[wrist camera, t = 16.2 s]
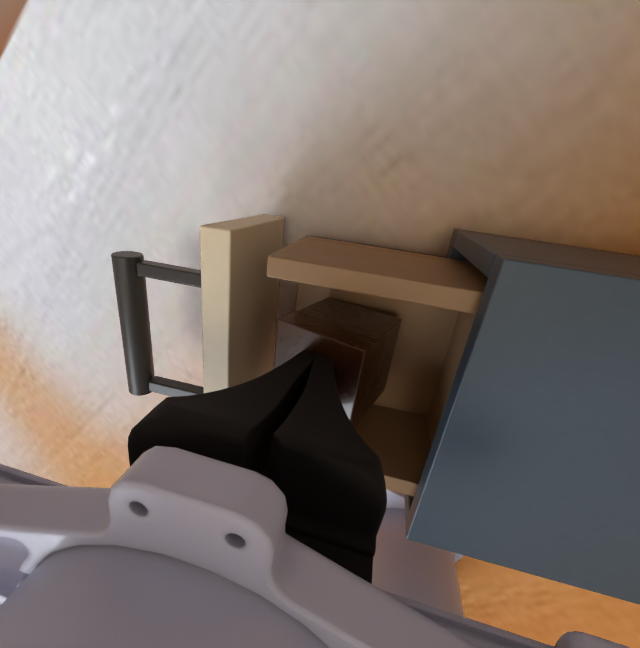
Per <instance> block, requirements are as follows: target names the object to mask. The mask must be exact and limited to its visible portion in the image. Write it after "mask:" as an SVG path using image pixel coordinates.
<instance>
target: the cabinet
mask: <svg viewBox="0 0 640 648" xmlns="http://www.w3.org/2000/svg"><path fill="white" fill-rule="evenodd" d="M446 258H450V259H456V260H462V261H468V262H471V263H472V264H473V265H474V266H475V267H476V268H477V269H479V270H480V271H481V272H482V273H483V274H484V275H485V276H486V277H487V278H488V281H487V284H486V286H485V289H484V292H483V295H482V298H481V301H480V304H479V307H478V310H477V313H476V316H475V319H474V322H473V325H472V328H471V331H470V334H469V337H468V340H467V343H466V346H465V348H464V351H463V354H462V357H461V360H460V363H459V366H458V369H457V372H456V375H455V378H454V381H453V384H452V387H451V390H450V393H449V396H448V399H447V402H446V405H445V407H444V410H443V413H442V416H441V419H440V422H439V425H438V428H437V431H436V434H435V437H434V440H433V443H432V446H431V449H430V452H429V455H428V458H427V461H426V464H425V467H424V469H423V472H422V475H421V478H420V481H419V484H418V487H417V490H416V493H415V496H410V495H406V494H404V497H405V520H406V523H405V525H406V539H408V540H411V541H415V542H418V543H422V544H425V545H429V546H433V547H436V548H440V549H443V550H447V551H450V552H454V553H458V554H461V555H465V556H468V557H472V558H475V559H479V560H483V561H486V562H490V563H493V564H497V565H500V566H504V567H508V568H511V569H515V570H518V571H522V572H525V573H529V574H533V575H536V576H540V577H543V578H547V579H550V580H554V581H558V582H561V583H565V584H568V585H572V586H576V587H579V588H583V589H586V590H590V591H593V592H597V593H601V594H604V595H608V596H611V597H615V598H618V599H622V600H626V601H629V602H633V603H636V604H640V256H637V255H630V254H624V253H617V252H610V251H603V250H596V249H589V248H583V247H576V246H569V245H562V244H555V243H549V242H542V241H535V240H528V239H521V238H514V237H508V236H501V235H494V234H487V233H480V232H474V231H467V230H460V229H454V232H453V235H452V239H451V243H450V246H449V250H448V253H447V257H446Z"/></svg>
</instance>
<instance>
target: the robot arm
mask: <svg viewBox="0 0 640 648" xmlns="http://www.w3.org/2000/svg"><path fill="white" fill-rule="evenodd" d="M128 451H129V461H130V468H129V469H128V470H127V471H126V472H125V473H124V474H123V475H122V476H121V477H120V478H119V479H118V480H117V481H116V482H115V483H114V484H113V486H112V487H111V488H91V487H69V486H66V485H63V484H60V483H57V482H54V481H51V480H48V479H45V478H42V477H39V476H36V475H33V474H30V473H27V472H24V471H21V470H18V469H15V468H12V467H9V466H6V465H3V464H0V648H629V647H627V646H624V645H621V644H617V643H614V642H611V641H608V640H605V639H602V638H599V637H596V636H593V635H590V634H586V633H583V632H577V631H574V632H567V633H565V634H564V635H562V636H561V637H560V638H559V640H558V641H557V643H556V645H555V647H553V646H550V645H547V644H544V643H541V642H538V641H535V640H532V639H529V638H526V637H523V636H520V635H517V634H514V633H511V632H508V631H505V630H502V629H499V628H496V627H493V626H489V625H486V624H483V623H480V622H477V621H474V620H471V619H468V618H465V617H464V611H463V605H462V599H461V594H460V588H459V582H458V576H457V570H456V564H455V563H456V562H457V561H458V560H459V559H461V558H462V557H463V556H465V555H461V554H458V553H454V552H450V551H447V550H443V549H440V548H436V547H433V546H429V545H425V544H422V543H418V542H415V541H411V540H408V539H406V525H405V523H406V520H405V497H404V494H402V493H399V492H395V491H391V490H387V489H386V484H385V478H384V473H383V469H382V464H381V461H380V458H379V457H378V456H377V455H376V453H375V452H374V451H373V450H372V449H371V448H370V447H369V446H368V445H367V444H366V443H365V442H364V441H363V439H362V438H361V437H360V435H359V434H358V433H357V431H356V430H355V428H354V426H353V425H352V423H351V422H350V420H349V418H348V416H347V414H346V412H345V410H344V407H343V405H342V402H341V400H340V397H339V394H338V390H337V387H336V382H335V377H334V362H333V360H332V359H329V358H326V357H323V356H320V355H317V354H314V353H312V352H309V351H305V350H303V351H301V352H300V353H298V354H297V355H295V356H294V357H292V358H291V359H289V360H288V361H286V362H285V363H283V364H281V365H280V366H278V367H277V368H275V369H273V370H271V371H269V372H268V373H266V374H264V375H262V376H260V377H257V378H255V379H253V380H250V381H248V382H245V383H242V384H239V385H236V386H232V387H229V388H225V389H222V390H218V391H213V392H208V393H202V394H196V395H188V396H178V397H167V398H166V399H164V400H163V401H162V402H161V403H160V404H158V405H157V406H156V407H155V408H154V409H153V410H152V411H151V412H150V413H149V414H148V415H146V416H145V417H144V418H143V419H142V420H141V421H140V422H139V423H138V424H137V425H136V426H135V427H134V428H133V429H132V430H131V432H130V435H129V437H128Z"/></svg>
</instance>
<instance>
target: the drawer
mask: <svg viewBox="0 0 640 648" xmlns="http://www.w3.org/2000/svg"><path fill="white" fill-rule="evenodd" d="M283 230H284V218H283V217H278V216H272V215H265V214H263V215H257V216H252V217H246V218H240V219H235V220H229V221H223V222H218V223H212V224H206V225H201V226H200V252H201V270H196V269H191V268H185V267H180V266H174V265H169V264H163V263H158V262H152V261H147V260H145V261H144V257H143V254H142V253H139V252H133V251H120V252H115V253H112V254H111V257H112V265H113V272H114V280H115V287H116V295H117V303H118V310H119V318H120V325H121V333H122V341H123V348H124V356H125V364H126V371H127V379H128V386H129V392H130V393H131V394H133V395H146V394H149V393H151V392H156V393H160V394H164V395H168V396H172V397H178V396H188V395H196V394H202V393H208V392H213V391H218V390H222V389H225V388H229V387H232V386H236V385H239V384H242V383H245V382H248V381H250V380H253V379H255V378H257V377H260V376H262V375H264V374H266V373H268V372H269V371H271V370H273V360H274V347H275V334H276V321H277V308H278V295H279V282H280V279H283V280H288V281H294V282H298V288H297V298H296V308H295V311H297V310H300V309H302V308H304V307H307V306H309V305H311V304H314V303H316V302H318V301H321V300H323V299H325V298H328V297H331V298H334V299H337V300H341V301H344V302H347V303H350V304H354V305H357V306H360V307H364V308H367V309H370V310H373V311H377V312H380V313H383V314H386V315H390V316H393V317H396V318H399V319H401V320H402V321H401V325H400V329H399V333H398V337H397V341H396V345H395V350H394V354H393V358H392V362H391V366H390V370H389V374H388V378H387V382H386V386H385V390H384V391H383V392H382V394H381V395H380V396H379V397H378V399H377V400H376V401H375V402H374V404H373V405H372V406H371V407H370V409H369V410H368V411H367V412H366V414H365V415H364V416H363V418H362V419H361V420H360V421H359V423H358V424H357V425H356V426H355V430H356V431H357V433H358V434H359V435H360V437H361V438H362V439H363V441H364V442H365V443H366V444H367V445H368V446H369V447H370V448H371V449H372V450H373V451H374V452H375V453H376V455H377V456H378V457H379V458H380V461H381V464H382V469H383V473H384V478H385V484H386V489H387V490H391V491H395V492H399V493H402V494H406V495H410V496H415V493H416V490H417V487H418V484H419V481H420V478H421V475H422V472H423V469H424V467H425V464H426V461H427V458H428V455H429V452H430V449H431V446H432V443H433V440H434V437H435V434H436V431H437V428H438V425H439V422H440V419H441V416H442V413H443V410H444V407H445V405H446V402H447V399H448V396H449V393H450V390H451V387H452V384H453V381H454V378H455V375H456V372H457V369H458V366H459V363H460V360H461V357H462V354H463V351H464V348H465V346H466V343H467V340H468V337H469V334H470V331H471V328H472V325H473V322H474V319H475V316H476V313H477V310H478V307H479V304H480V301H481V298H482V295H483V292H484V289H485V286H486V284H487V281H488V278H487V277H486V276H485V275H484V274H483V273H482V272H481V271H480V270H479V269H477V268H476V267H475V266H474V265H473V264H472V263H471V262H468V261H462V260H456V259H450V258H443V257H437V256H431V255H424V254H418V253H412V252H406V251H399V250H393V249H387V248H380V247H374V246H368V245H362V244H355V243H349V242H343V241H337V240H330V239H324V238H318V237H311V236H305V237H303V238H302V239H300V240H298V241H296V242H294V243H292V244H290V245H288V246H286V247H284V248H282V243H283ZM145 277H148V278H153V279H158V280H164V281H169V282H174V283H179V284H184V285H190V286H195V287H200V288H201V297H202V342H203V386H204V387H201V386H196V385H192V384H188V383H184V382H179V381H175V380H171V379H167V378H163V377H158V376H154V366H153V355H152V344H151V333H150V322H149V311H148V300H147V290H146V279H145Z"/></svg>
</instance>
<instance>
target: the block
mask: <svg viewBox="0 0 640 648" xmlns="http://www.w3.org/2000/svg"><path fill="white" fill-rule="evenodd" d="M401 321H402V320H401V319H399V318H396V317H393V316H390V315H386V314H383V313H380V312H377V311H373V310H370V309H367V308H364V307H360V306H357V305H354V304H350V303H347V302H344V301H341V300H337V299H334V298H331V297H328V298H325V299H323V300H321V301H318V302H316V303H314V304H311V305H309V306H307V307H304V308H302V309H300V310H297V311H295V312H293V313H290V314H288V315H285V316H283V317H281V318H278V321H277V333H276V345H275V357H274V369H275V368H277V367H278V366H280V365H281V364H283V363H285V362H286V361H288V360H289V359H291V358H292V357H294V356H295V355H297V354H298V353H300V352H301V351H303V350H305V351H309V352H312V353H314V354H317V355H320V356H323V357H326V358H329V359H332V360H333V362H334V377H335V382H336V387H337V390H338V394H339V397H340V400H341V402H342V405H343V407H344V410H345V412H346V414H347V416H348V418H349V420H350V422H351V423H352V425H353V426H354V428H355V426H356V425H357V424H358V423H359V421H360V420H361V419H362V418H363V416H364V415H365V414H366V412H367V411H368V410H369V409H370V407H371V406H372V405H373V404H374V402H375V401H376V400H377V399H378V397H379V396H380V395H381V394H382V392H383V391H384V390H385V386H386V382H387V378H388V374H389V370H390V366H391V362H392V358H393V354H394V350H395V345H396V341H397V337H398V333H399V329H400V325H401Z"/></svg>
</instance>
